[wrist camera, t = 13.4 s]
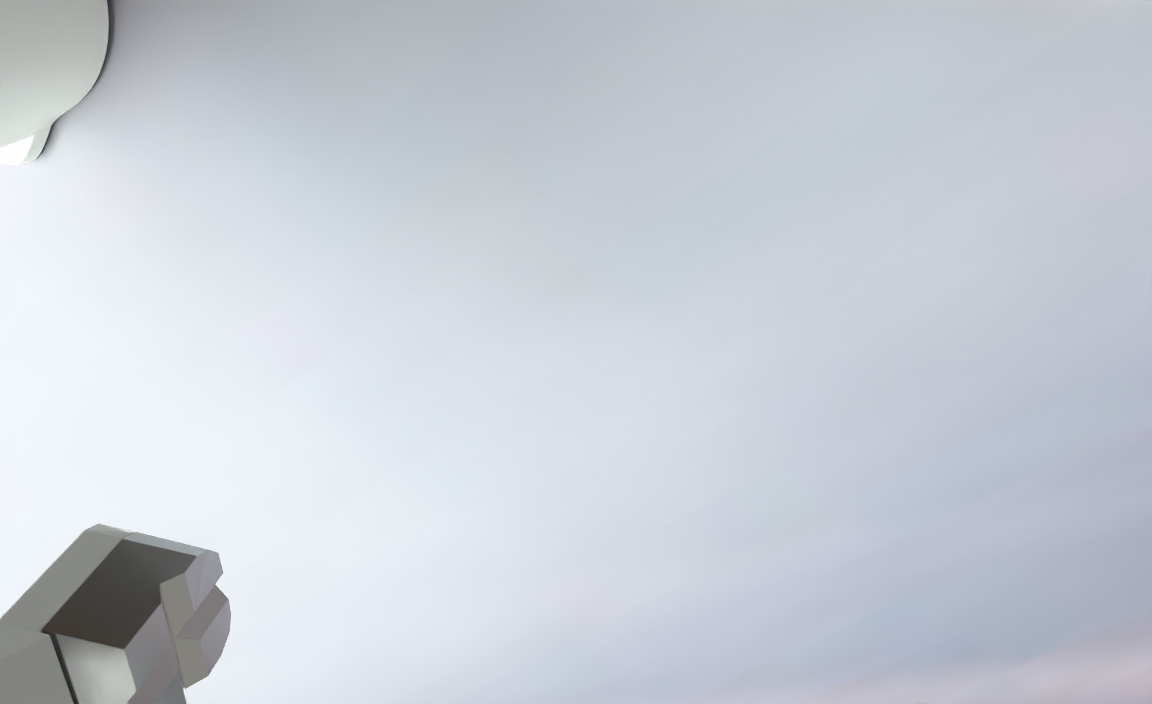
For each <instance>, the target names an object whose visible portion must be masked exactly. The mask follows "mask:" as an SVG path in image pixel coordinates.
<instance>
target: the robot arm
mask: <svg viewBox="0 0 1152 704" xmlns="http://www.w3.org/2000/svg"><path fill="white" fill-rule="evenodd" d="M108 33H109V18H108V5H107V0H0V163H3V164H6V165H10V166H19V165H22V164H25V163H27V162H30V161H33V160H35V159H36V158H37V157H38V156H39V154H40V153H41V151H42V149H43V147H44V145H45V142H46V140H47V137H48V134H49V131H50V128H51V125H52V124H53V123H54V122H55V121H56V120H57V119H58V118H59V117H60V116H61V115H63V114H64V113H65V112H67V111H68V110H70V109H71V108H72V107H74V106H75V105H76V104H78V103H79V102H80V101H81V100H82V99H83V98H84V97H85V96H86V95H87V93H88V92H89V91H90V89H91V88H92V86H93V85H94V83H95V81H96V80H97V78H98V75H99V73H100V71H101V68H102V65H103V62H104V59H105V55H106V50H107V44H108ZM222 574H223V570H222V566H221V562H220V558H219V554H218V553H217V552H214V551H210V550H207V549H203V548H199V547H195V546H191V545H187V544H183V543H179V542H175V541H171V540H167V539H163V538H158V537H154V536H150V535H146V534H142V533H138V532H133V531H129V530H124V529H120V528H116V527H112V526H107V525H103V524H97V525H95V526H93V527H90V528H88V529H86V530H85V531H83V532H82V533H81V534H80V535H79V536H78V537H77V538H76V540H75V541H74V542H73V543H72V544H71V545H70V546H69V547H68V548H67V549H66V550H65V551H64V552H63V553H62V554H61V555H60V556H59V557H58V558H57V559H56V560H55V562H54V563H53V564H52V565H51V566H50V567H49V568H48V569H47V570H46V571H45V572H44V573H43V574H42V575H41V576H40V577H39V578H38V579H37V580H36V581H35V582H34V583H33V585H32V586H31V587H30V588H29V589H28V590H27V591H26V592H25V593H24V594H23V595H22V596H21V597H20V598H19V599H18V600H17V601H16V602H15V603H14V604H13V605H12V606H11V608H10V609H9V610H8V611H7V612H6V613H5V614H4V615H3V616H2V617H1V618H0V704H187V699H186V688H187V687H189V686H191V685H193V684H195V683H196V682H198V681H200V680H202V679H203V678H205V677H207V676H208V675H209V674H210V672H211V670H212V669H213V667H214V666H215V664H216V663H217V661H218V659H219V658H220V656H221V654H222V651H223V648H224V646H225V643H226V640H227V637H228V634H229V631H230V619H231V611H230V606H229V600H228V598H227V597H226V596H225V595H224V594H223V593H222V592H221V590H220V589H219V588H218V587H217V586H216V585H215V583H216V582H217V581H218V579H219V578H220V577H221V575H222ZM918 704H923V703H918Z"/></svg>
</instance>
